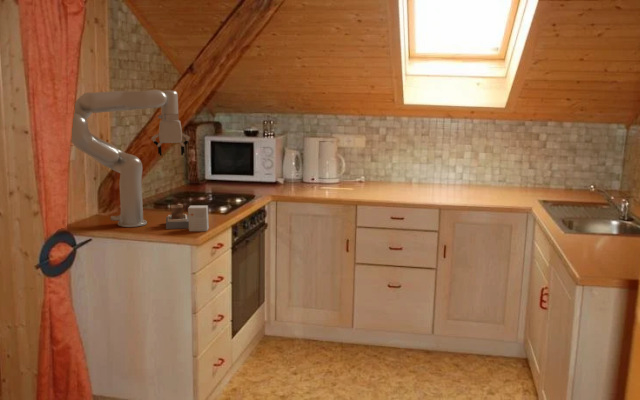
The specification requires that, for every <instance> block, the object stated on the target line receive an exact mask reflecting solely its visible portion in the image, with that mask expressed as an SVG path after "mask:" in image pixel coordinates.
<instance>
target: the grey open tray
mask: <svg viewBox="0 0 640 400" xmlns="http://www.w3.org/2000/svg"><path fill="white" fill-rule="evenodd" d="M167 215H168V216H165V217H166V218H165V230H174V229H176V230H177V229H178V230H179V229H182V230H183V229H189V221H188V213H187V214H186V213H183V219H172V216H171V214H167Z"/></svg>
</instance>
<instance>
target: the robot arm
mask: <svg viewBox="0 0 640 400" xmlns="http://www.w3.org/2000/svg"><path fill="white" fill-rule="evenodd" d="M75 102H76V103H75ZM75 102H74V103H75V113H74V118H73V128H72V140H71V139H70V141H71V143H72V145H73V146H74V147H75V148H76V149H78V150H79V151H80V152H83V153H84V154H86V155H87V156H90V157H92V159H93V160H94V161H95V162H97V163H98V164H101V165H102V166H104V167H107V168H108V169H110V170H113V171H114V172H116V173H119V174H120V175H119V201H120V214H119V215H111V216H110V221H113V222H117V226H119V227H123V228H135V227H143V226H145V225H147V223H148V221H147V220H146V219H144V209H143V208H144V207H143V205H144V204H143V185H142V182H143V181H142V180H143V179H142V178H143V168H144V167H143V163H142V160H141V159H140V158H139V157H138V156H136V155H135V154H130V153H127V152H125V151H123V150H121V149H119V148H118V147H117V146H116V145H114V144H113V143H110V142H107V141H105V140H103V139H102V138H100V137H98V136H97V135H94V134H93V133H92V132H91V131H90V129H89V122H88V119H89V117H90V116H91V115H92V114H98V113H101V114H102V113H108V112H109V113H110V112H120V111H121V112H122V111H123V112H124V111H133V110H145V109H156V108H157V109H158V108H161V109H160V110H161V114H160V115H158V117H157V119H161V120H160V121H159V125H158V126H159V129H158V133H157V134H155V135H153V136H152V137H151V141H153V144H154V145H155V146H156V147H157V152H158V153H157V154H159V157H160V156H162V145H163V144H176V143H177V144H178V143H179V144H180V145H181V146H180V155H181V156H184V154H185V147H186V146H187V144H188V143H189V141H190V139H191V136H190V135H187V134H185V133H184V132H183V130H182V124H181V123H182V122H181V120H179V94H178V91H177V90H170V89H169V90H160V89H147V90H146V91H145V90H144V91H143V90H141V91H133V90H132V91H129V90H114V91H112V90H111V91H98V92H85V93H83V94H81V95H80V96H79V97H78V98H77V99H76V101H75ZM156 138H159V139H158V140H159V142H158V141H157V140H156ZM183 138H185V141H183Z"/></svg>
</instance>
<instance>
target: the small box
mask: <svg viewBox="0 0 640 400" xmlns="http://www.w3.org/2000/svg"><path fill="white" fill-rule="evenodd" d="M187 212H188V213H187V216H188V221H189V228H188V231H189V232H208V230H209V229H210V226H209V205H199V204H198V205H189V207H188V208H187Z"/></svg>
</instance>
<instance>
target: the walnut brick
mask: <svg viewBox="0 0 640 400" xmlns="http://www.w3.org/2000/svg"><path fill="white" fill-rule="evenodd" d="M170 207H171V212H170V213H171V214H170V215H171V216H172V219H183V214H184V206H183V204H170Z"/></svg>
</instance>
